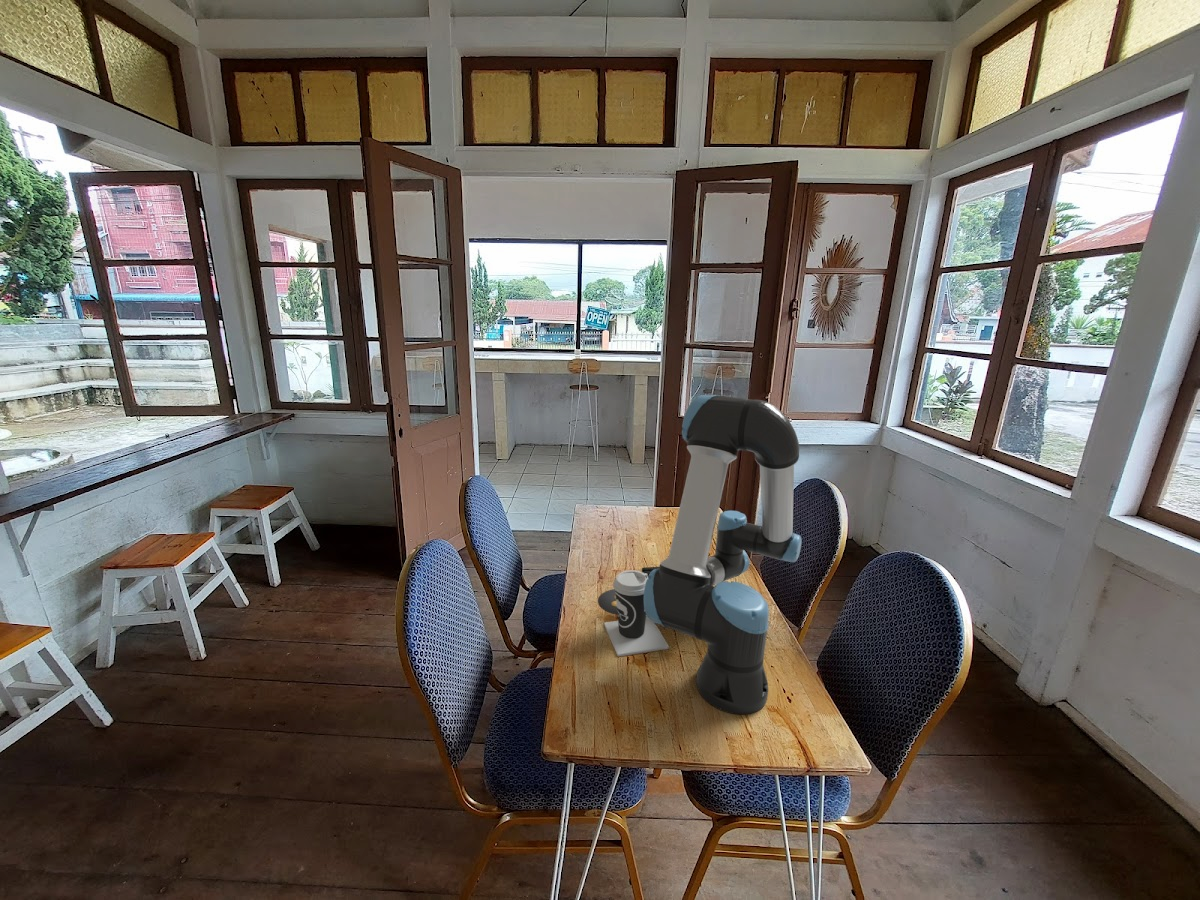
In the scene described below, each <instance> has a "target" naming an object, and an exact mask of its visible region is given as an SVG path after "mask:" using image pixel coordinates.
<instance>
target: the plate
mask: <svg viewBox="0 0 1200 900" xmlns="http://www.w3.org/2000/svg"><path fill="white" fill-rule="evenodd" d="M656 624H657V623H655V622H653V621H651V620H650V619H649V618H648V616H646V621H645V630H644V634H643V635H642V636H640V637H638V638H626V637H624V636H622V635H621V634H620V633H619V626H618V620H613V621H606V622H603V626H604V628H605V631H606V633H607V635H608V637H609V639H610V642H611V644H612V646H613V649H614V651H615V653H616V656H617V657H618V658H619V657H623V656H624V657H625V656H630V655H637V654H644V653H650V652H657V651H662V650H663V651H664V650H669V649H670V646H669V645H668V643H667V641H666V639H665V638H664V636H663V634H662V632H661V631H660V629H659V628H658V626H657V625H656Z"/></svg>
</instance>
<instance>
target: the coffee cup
mask: <svg viewBox="0 0 1200 900" xmlns="http://www.w3.org/2000/svg"><path fill="white" fill-rule="evenodd" d="M647 579H648V576H647V575H646V574H645V573H643V572H642V571H640V570H635V569H634V570H633V569H632V570H631V569H629V570H624V571H621V572H619V573H618V574H617V575H616V577H615V579H614V580H613V584H612V588H613V589H615V593H616V603H617V614H616V615H617V621H618V626H619V633H620V634H621V635H622V636H624V637H626V638H638V637H640V636H642V635H643V634H644V630H645V621H646V617H647V615H646V611H645V609H644V589H645V584H646V581H647Z"/></svg>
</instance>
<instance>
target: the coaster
mask: <svg viewBox="0 0 1200 900" xmlns="http://www.w3.org/2000/svg"><path fill="white" fill-rule="evenodd" d="M597 599H598V601H597V602H598V605H599V607H600V608H601V609H603V610H604V611H605V612H608V613H609V614H614V615H618V614H617V603H616V593H615V589H614V588H613V589H608V590H607V591H604V592H602V593H601V594H600V595H599V597H598V598H597Z"/></svg>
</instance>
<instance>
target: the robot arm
mask: <svg viewBox="0 0 1200 900" xmlns="http://www.w3.org/2000/svg"><path fill="white" fill-rule="evenodd" d="M681 427H682V430H681V436H682V439H683V440H684V441H685V442H686V443H687V445H686V449H687V451H688V453H689V454H690V459H689V466H688V470H687V473H686V478H685V484H684V488H683V493H682V496H681V500H680V505H679V509H678V514H677V519H676V522H675V526H674V531H673V535H672V540H671V545H670V549H669V554H668V556H667V558H665V559H664V560H661V561H660V562H659V563H660V564H659V566H649V567H648V566H647V567H642V568H641V572H643V573H645V574H646V575H647V576H648V579H647V581H646V584H645V589H644V609H645V611H646V617H648V618H649V619H650V620H651V621H653V622H655V624H657V625H660V626H662V627H663V628H665V629H671V630H673V631H676V632H679V633H682V634H684V635H687V636H689V637H692V638H694V639H698V640H700V641H703V642H705V643H707V651H706V654H705V655H704V658H703V659H702V661H701V664H700V665H699V667H698V670H697V673H696V688H697V690H698V693H699V694H700V696H701V697H702V698H703V699H704V700H705V701H706V703H708V704H709V705H710V706H713V707H714V708H716V709H718V710H720V711H722V712H725V713H730V714H734V715H748V714H749V715H750V714H753V713H756V712H758V711H759V710H761V709H763V707H764V706H765V705H766V703H767V701H768V695H769V682H768V679H767V675H766V671H765V667H764V659H765V658H764V657H765V649H766V643H767V635H768V629H769V627H770V623H769V622H770V621H769V616H770V615H769V613H770V610H769V608H770V607H769V604H768V602H767V601H766V599H765V598H764V596H763V595H762V594H761V593H760V592H759V591H757V590H756V589H755V588H753V587H751V586H749V585H747V584H745V583H742V582H738V581H730V582H729V581H728V580H731V579H733V578H737V577H739V576H740V575H742V574H744V573H746V572H747V571H748V569H749V568H750V563H751V562H750V560H749V555H748V553H747V552H751V553H755V554H757V555H762V556H764V557H769V558H771V559H775V560H778V561H785V562H790V563H795V562H797V560H798V558H799V556H800V553H801V548H802V543H803V542H802V540H803V539H802V536H801V535H799V534H798V533H794V530H793V525H794V523H793V521H794V488H795V487H794V484H795V483H794V480H795V479H794V478H795V465H796V464H797V463H798V461H799V460H800V459H799V458H800V444H799V443H800V442H799V439H798V436H797V433H796V430H795V428H794V427H793V425H792V423H791V421H790V420H789V418H788V417H787V416H786V415H785V414H784V413H783V411H781V410H780V408H778V407H777V406H775V405H773V404H772V403H770V402H768V401H766V400H762V399H749V398H741V397H733V396H725V395H718V394H713V395H709V394H701V395H697V396H696V397H695V398H694V399H693V400H692V401H691V402H690V403H689V405H688V407H687V409H686V410H685V413H684V417H683V419H682V425H681ZM739 451H745V452H751V453H754V460H755V461H756V463H757V464H758V465H759V481H760V482H759V485H760V506H761V507H760V508H761V509H760V510H761V525H759V524H754V523H750V522H748V520H747V519H748V518H747V516H746V514H745V513H742V512H740V511H738V510H725V511H722V512H721V513H720V514H719V516H718V513H719V509H720V504H721V500H722V495H723V490H724V485H725V481H726V476H727V472H728V468H729V464H730V463H732V462H733V461H735V460H736V459H737V458H738V455H739ZM717 518H718V523H717V526H716V522H717ZM715 526H716V541H715V542H716V544H715V554H713V555H711V556H710V555H709V554H710V551H711V550H710V549H711V546H712V541H713V536H714V532H715V531H714V530H715ZM746 551H747V552H746Z"/></svg>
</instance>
